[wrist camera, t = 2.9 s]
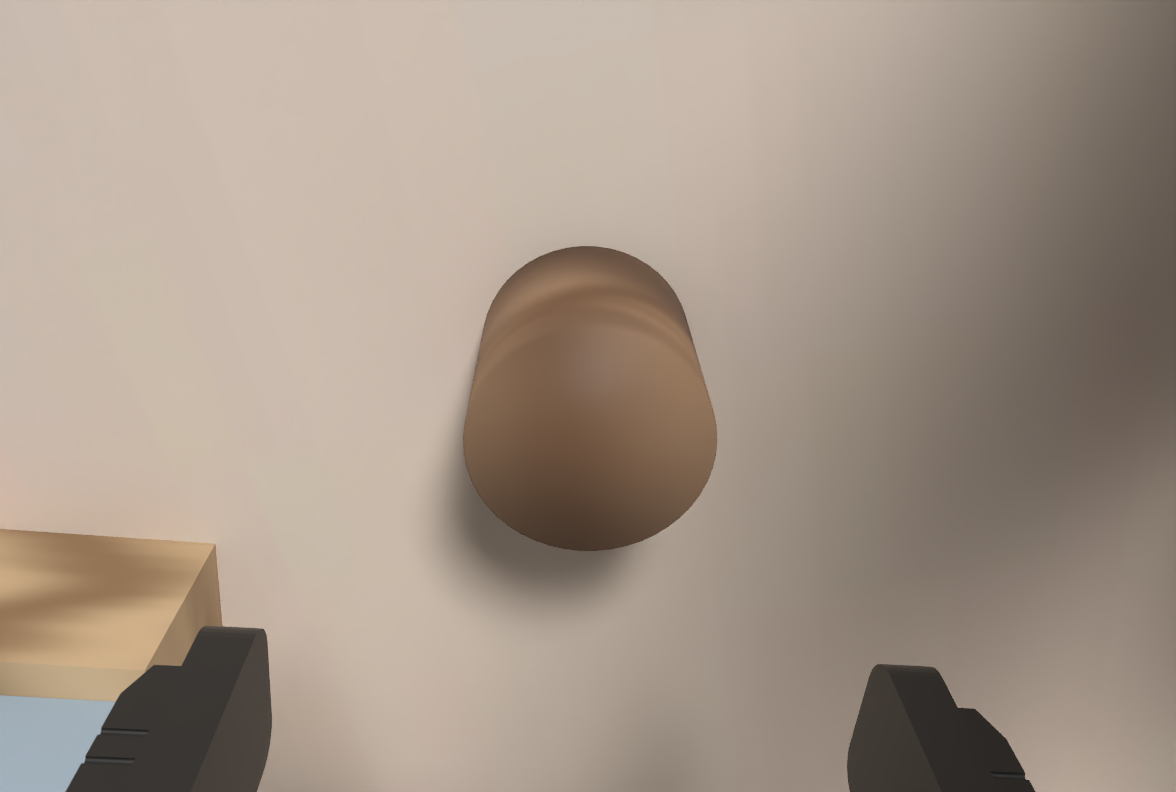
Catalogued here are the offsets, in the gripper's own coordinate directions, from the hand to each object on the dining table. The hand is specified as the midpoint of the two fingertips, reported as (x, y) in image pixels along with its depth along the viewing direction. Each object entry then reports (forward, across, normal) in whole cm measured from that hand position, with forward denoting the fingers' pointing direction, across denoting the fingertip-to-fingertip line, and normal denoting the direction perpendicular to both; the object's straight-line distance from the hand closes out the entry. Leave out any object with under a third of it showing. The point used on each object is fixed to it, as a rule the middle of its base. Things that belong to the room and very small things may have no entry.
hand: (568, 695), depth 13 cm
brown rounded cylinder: (+12, -1, 0) cm, 12 cm away
